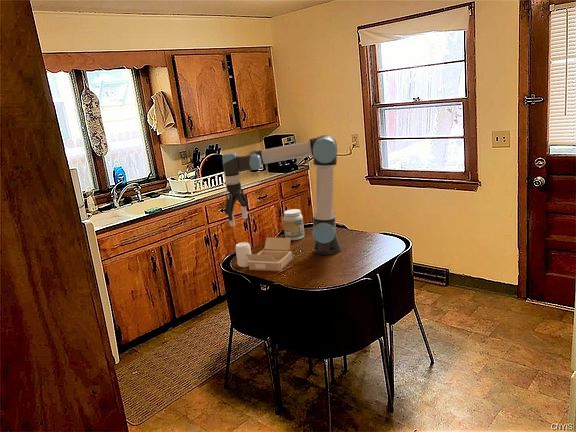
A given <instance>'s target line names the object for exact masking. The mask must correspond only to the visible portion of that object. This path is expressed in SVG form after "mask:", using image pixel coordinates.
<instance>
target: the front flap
mask: <svg viewBox="0 0 576 432" xmlns="http://www.w3.org/2000/svg"><path fill="white" fill-rule="evenodd" d="M245 255H246V256H247V258H248V259H249V260H250V261H266V262H276V260H275V259H274V258H273V257H272V255H257V254H252V253H251V254H245Z"/></svg>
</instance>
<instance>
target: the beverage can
mask: <svg viewBox="0 0 576 432" xmlns="http://www.w3.org/2000/svg"><path fill="white" fill-rule="evenodd" d="M234 249H235V255H236V262H237V266H238V267H241V268H247V267H248V268H249V264H248V262H249V259H248V258H247V256H246V255H245V254H252V250H251V249H252V248H251V244H250V243H249V242H246V241H243V242H238V243H236V244H235V248H234Z"/></svg>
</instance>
